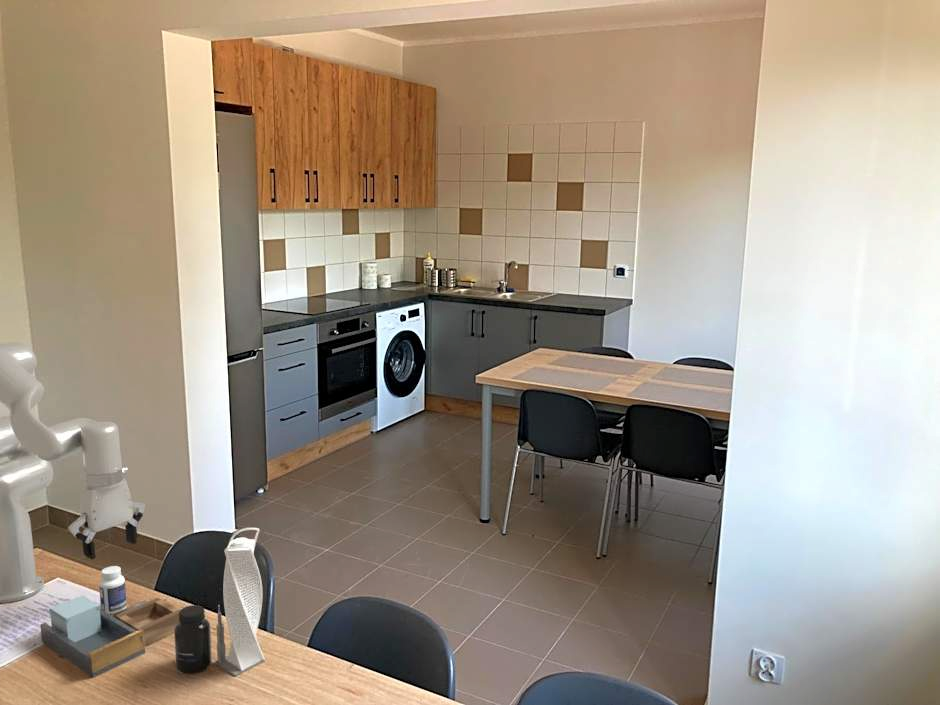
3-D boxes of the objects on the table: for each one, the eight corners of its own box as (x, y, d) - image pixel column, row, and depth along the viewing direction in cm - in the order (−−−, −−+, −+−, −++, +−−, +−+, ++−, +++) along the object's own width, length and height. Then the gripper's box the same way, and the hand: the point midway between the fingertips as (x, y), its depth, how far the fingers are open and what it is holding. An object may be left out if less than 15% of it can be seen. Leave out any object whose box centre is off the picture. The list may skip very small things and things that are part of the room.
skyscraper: (251, 645, 162) (245, 520, 157) (274, 660, 157) (269, 531, 152) (215, 663, 156) (208, 533, 151) (238, 678, 151) (231, 545, 146)
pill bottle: (131, 604, 179) (128, 564, 177) (119, 615, 174) (115, 575, 172) (109, 602, 179) (106, 563, 178) (96, 614, 174) (93, 574, 172)
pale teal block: (51, 634, 164) (49, 608, 163) (85, 620, 170) (82, 595, 169) (68, 645, 160) (66, 619, 159) (102, 630, 165) (100, 605, 164)
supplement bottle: (178, 679, 151) (174, 622, 148) (174, 661, 156) (170, 606, 154) (214, 669, 154) (211, 614, 152) (209, 652, 160) (206, 599, 157)
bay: (42, 641, 163) (39, 620, 162) (92, 620, 172) (91, 599, 171) (93, 677, 151) (91, 654, 150) (145, 652, 159) (143, 630, 158)
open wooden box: (106, 626, 169) (105, 609, 168) (148, 608, 177) (147, 592, 176) (142, 648, 161) (140, 630, 160) (184, 628, 169) (183, 611, 168)
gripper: (131, 464, 180) (138, 533, 183) (56, 485, 166) (64, 559, 169) (149, 470, 175) (156, 540, 178) (73, 492, 162) (82, 568, 165)
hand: (111, 549), depth 174 cm, fingers open, 9 cm apart
